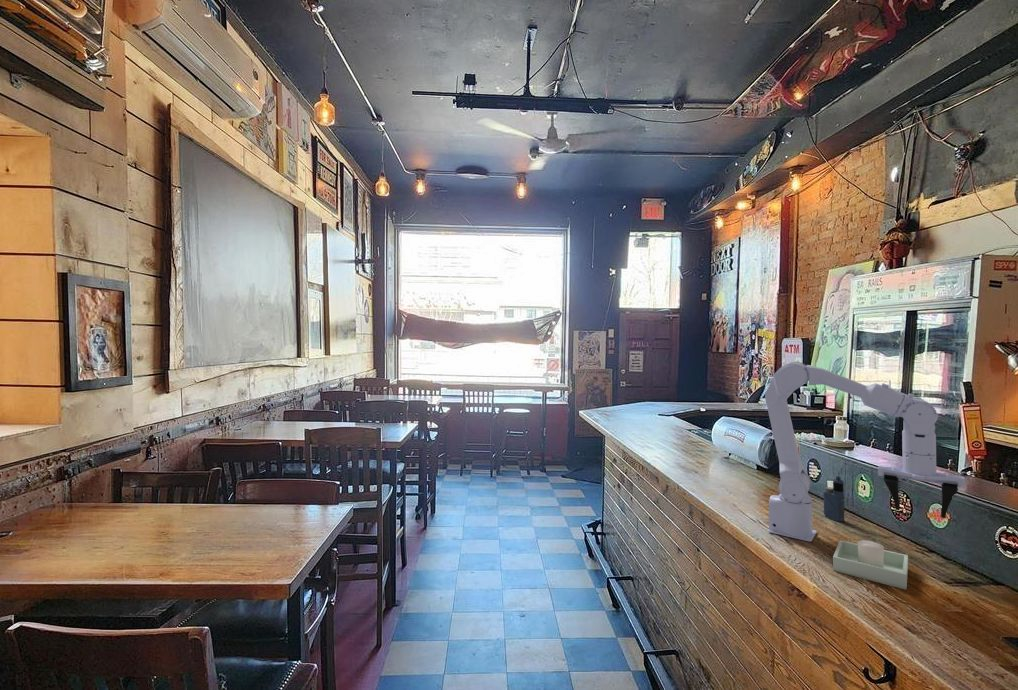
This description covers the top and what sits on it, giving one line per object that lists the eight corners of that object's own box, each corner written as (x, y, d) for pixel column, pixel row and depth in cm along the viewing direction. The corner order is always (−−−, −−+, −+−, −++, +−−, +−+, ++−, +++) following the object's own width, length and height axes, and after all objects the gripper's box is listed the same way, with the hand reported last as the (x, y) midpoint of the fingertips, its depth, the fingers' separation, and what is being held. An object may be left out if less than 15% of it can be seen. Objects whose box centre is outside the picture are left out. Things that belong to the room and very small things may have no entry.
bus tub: (833, 570, 99) (832, 556, 99) (840, 552, 107) (839, 540, 107) (906, 589, 91) (906, 574, 91) (908, 569, 99) (907, 555, 99)
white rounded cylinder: (856, 567, 99) (856, 544, 99) (859, 560, 102) (859, 538, 102) (882, 575, 96) (882, 551, 96) (884, 567, 99) (885, 544, 99)
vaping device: (839, 522, 125) (838, 478, 125) (821, 515, 130) (821, 473, 130) (846, 521, 126) (846, 477, 126) (828, 514, 131) (828, 472, 131)
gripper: (876, 451, 106) (877, 510, 106) (965, 461, 96) (966, 526, 96) (878, 445, 111) (879, 502, 111) (963, 454, 101) (964, 516, 101)
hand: (919, 512), depth 104 cm, fingers open, 7 cm apart
